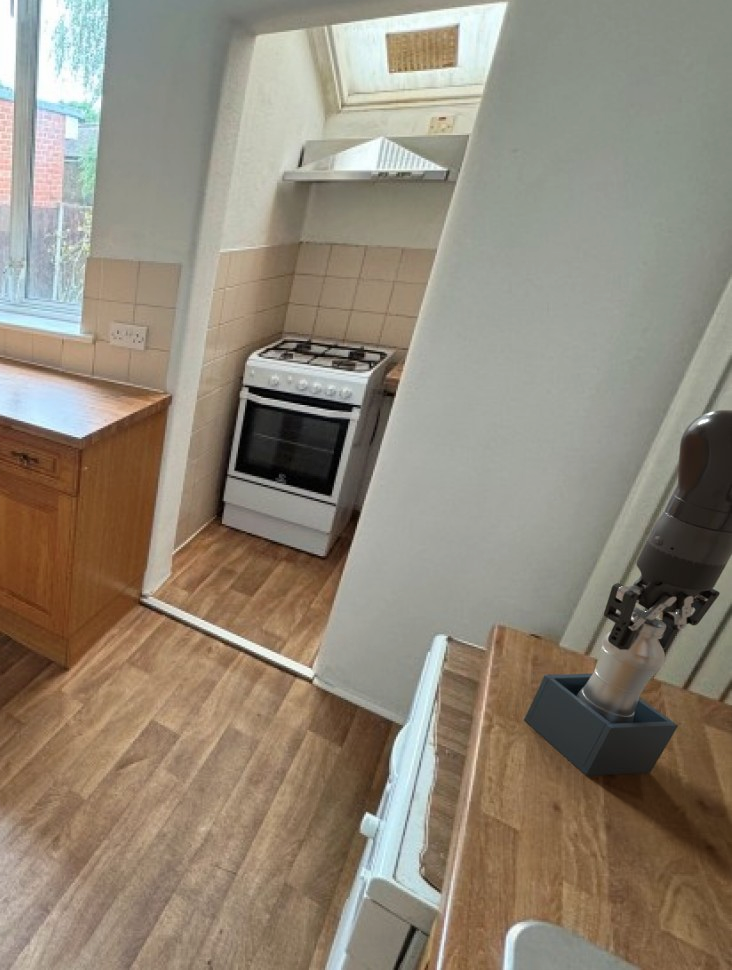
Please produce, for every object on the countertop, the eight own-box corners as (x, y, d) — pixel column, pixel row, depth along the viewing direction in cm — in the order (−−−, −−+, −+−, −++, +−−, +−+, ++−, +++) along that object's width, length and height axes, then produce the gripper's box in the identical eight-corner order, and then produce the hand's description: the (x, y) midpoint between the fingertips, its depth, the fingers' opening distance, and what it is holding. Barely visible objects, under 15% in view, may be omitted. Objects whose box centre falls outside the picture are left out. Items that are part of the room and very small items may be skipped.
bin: (650, 773, 92) (678, 725, 88) (585, 776, 91) (611, 728, 88) (582, 717, 102) (605, 672, 98) (523, 720, 101) (544, 674, 97)
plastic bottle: (590, 738, 92) (644, 633, 84) (557, 704, 98) (605, 604, 91) (637, 743, 91) (696, 638, 84) (601, 709, 97) (652, 608, 90)
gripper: (669, 564, 79) (618, 665, 85) (769, 562, 80) (711, 662, 86) (610, 534, 86) (567, 630, 92) (703, 533, 87) (653, 627, 93)
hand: (637, 645), depth 89 cm, fingers closed on plastic bottle, 5 cm apart
